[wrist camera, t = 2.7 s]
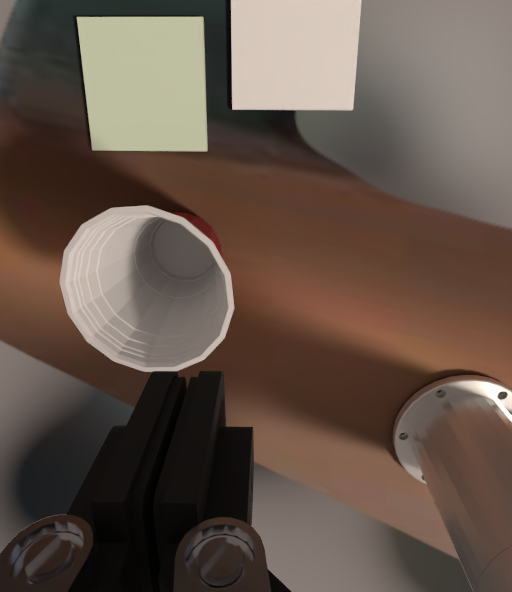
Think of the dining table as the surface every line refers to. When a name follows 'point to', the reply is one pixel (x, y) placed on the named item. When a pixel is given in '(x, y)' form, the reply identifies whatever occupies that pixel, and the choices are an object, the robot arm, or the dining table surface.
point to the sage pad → (145, 82)
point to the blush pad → (294, 54)
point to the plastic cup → (148, 287)
